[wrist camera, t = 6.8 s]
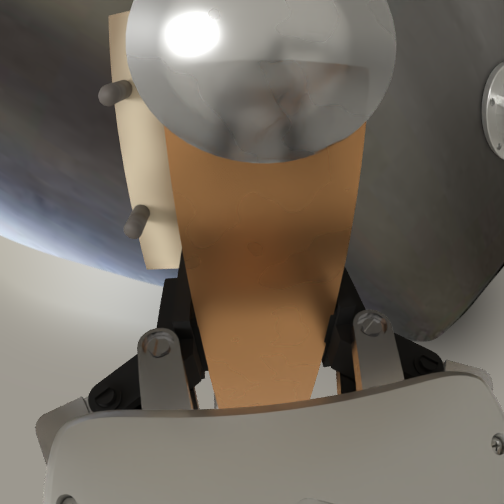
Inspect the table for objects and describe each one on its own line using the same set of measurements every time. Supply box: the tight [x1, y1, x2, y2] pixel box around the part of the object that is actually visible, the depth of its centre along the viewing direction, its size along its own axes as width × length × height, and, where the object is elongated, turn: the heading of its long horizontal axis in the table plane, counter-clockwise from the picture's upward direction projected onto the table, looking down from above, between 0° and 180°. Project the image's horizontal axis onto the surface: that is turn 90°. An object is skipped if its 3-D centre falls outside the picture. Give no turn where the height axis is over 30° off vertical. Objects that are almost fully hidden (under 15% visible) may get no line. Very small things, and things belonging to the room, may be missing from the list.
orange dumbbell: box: [126, 0, 396, 409], centre depth 11 cm, size 5×22×4 cm, turn 1°
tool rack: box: [99, 11, 182, 269], centre depth 22 cm, size 10×24×5 cm, turn 0°
